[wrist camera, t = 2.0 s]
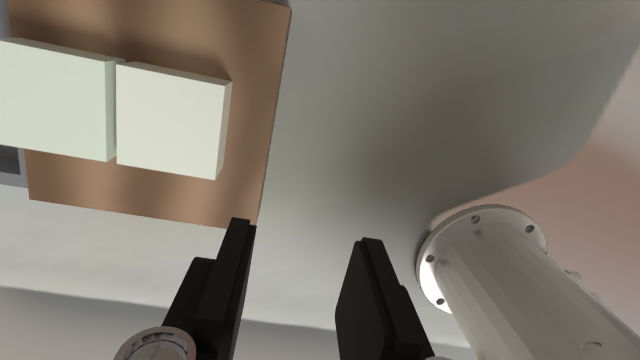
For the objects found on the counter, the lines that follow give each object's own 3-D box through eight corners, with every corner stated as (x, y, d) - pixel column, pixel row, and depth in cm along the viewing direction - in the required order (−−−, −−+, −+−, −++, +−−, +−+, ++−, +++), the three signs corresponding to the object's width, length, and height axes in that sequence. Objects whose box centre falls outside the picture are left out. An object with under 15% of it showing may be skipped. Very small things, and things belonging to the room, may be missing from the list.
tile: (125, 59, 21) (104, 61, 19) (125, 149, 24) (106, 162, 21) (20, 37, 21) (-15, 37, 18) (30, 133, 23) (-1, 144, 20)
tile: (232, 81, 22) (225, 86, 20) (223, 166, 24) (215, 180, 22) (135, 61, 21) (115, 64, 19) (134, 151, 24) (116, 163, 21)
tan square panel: (291, 12, 25) (290, 7, 21) (260, 206, 31) (254, 232, 27) (54, -44, 23) (0, -62, 19) (68, 175, 29) (29, 199, 25)
